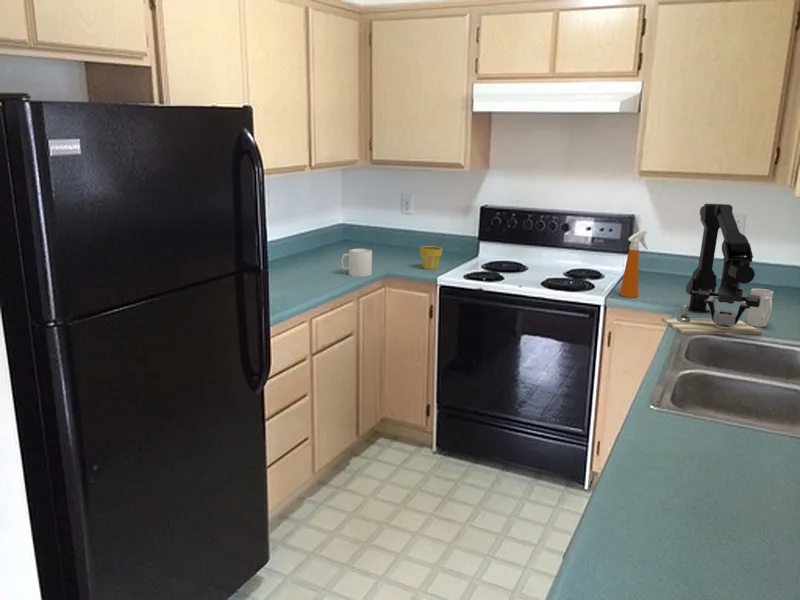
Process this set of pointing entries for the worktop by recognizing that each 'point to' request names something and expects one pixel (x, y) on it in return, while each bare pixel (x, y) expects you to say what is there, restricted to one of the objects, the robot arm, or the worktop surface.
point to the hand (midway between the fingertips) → (724, 322)
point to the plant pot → (430, 256)
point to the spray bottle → (632, 266)
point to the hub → (723, 326)
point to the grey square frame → (724, 317)
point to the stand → (684, 314)
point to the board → (708, 327)
